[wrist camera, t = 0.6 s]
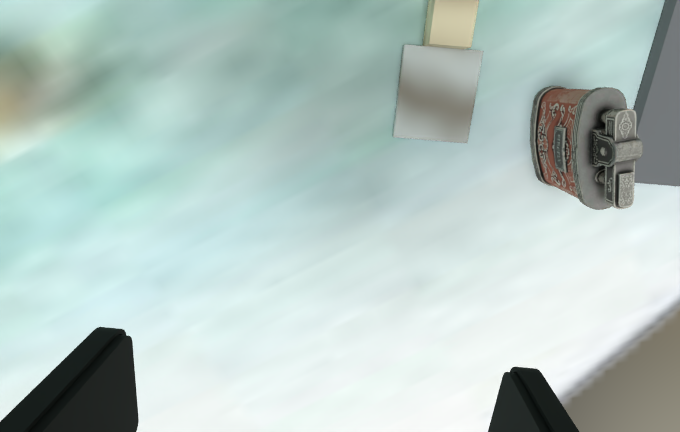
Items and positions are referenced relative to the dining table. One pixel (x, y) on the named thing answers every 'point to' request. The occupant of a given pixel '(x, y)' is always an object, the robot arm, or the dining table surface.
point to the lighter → (586, 144)
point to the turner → (440, 76)
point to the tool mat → (661, 104)
